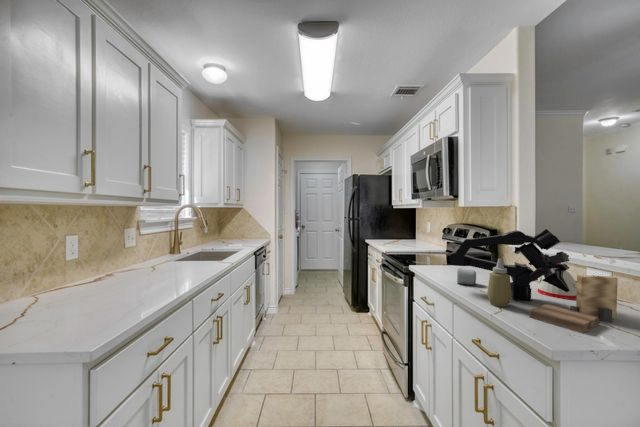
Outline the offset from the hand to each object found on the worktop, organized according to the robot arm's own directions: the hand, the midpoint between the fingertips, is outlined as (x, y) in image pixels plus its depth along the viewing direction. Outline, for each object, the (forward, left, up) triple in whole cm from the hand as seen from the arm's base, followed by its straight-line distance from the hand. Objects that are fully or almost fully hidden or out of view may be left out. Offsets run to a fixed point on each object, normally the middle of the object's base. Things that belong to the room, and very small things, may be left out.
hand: (568, 291), depth 104 cm
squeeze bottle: (-23, +1, -7) cm, 24 cm away
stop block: (+6, -8, -7) cm, 12 cm away
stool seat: (-9, -12, -7) cm, 16 cm away
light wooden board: (+4, -6, -7) cm, 10 cm away
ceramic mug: (-25, +32, -7) cm, 42 cm away
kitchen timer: (+9, +21, -7) cm, 24 cm away
